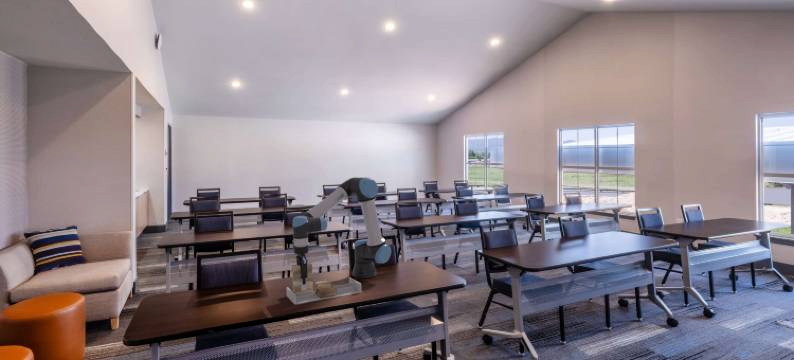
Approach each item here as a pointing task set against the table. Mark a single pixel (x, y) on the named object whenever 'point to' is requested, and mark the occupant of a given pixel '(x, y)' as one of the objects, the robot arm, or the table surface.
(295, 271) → the tan wooden block
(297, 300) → the rack
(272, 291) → the table surface
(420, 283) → the table surface
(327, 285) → the offcut top
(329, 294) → the offcut bottom
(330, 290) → the offcut middle
